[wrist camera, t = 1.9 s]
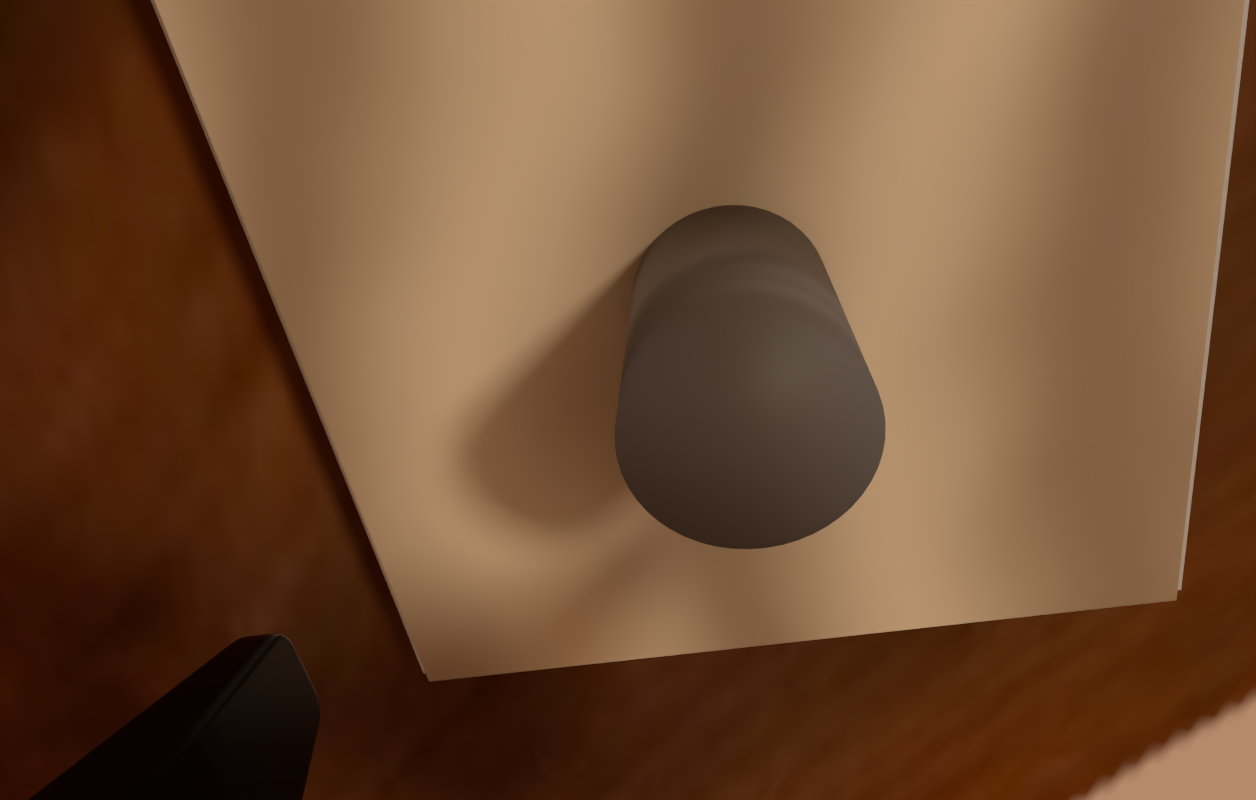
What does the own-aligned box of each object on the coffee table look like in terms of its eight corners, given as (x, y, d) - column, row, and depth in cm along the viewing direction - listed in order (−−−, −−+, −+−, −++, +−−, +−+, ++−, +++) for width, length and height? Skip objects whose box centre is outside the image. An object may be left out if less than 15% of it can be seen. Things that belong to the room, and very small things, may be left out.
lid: (1251, -388, 11) (1684, -628, 6) (1156, 573, 18) (1328, 806, 13) (139, -113, 13) (-169, -136, 8) (438, 654, 20) (362, 881, 15)
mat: (1271, -435, 11) (1301, -453, 11) (1166, 570, 18) (1181, 589, 18) (115, -142, 13) (92, -145, 13) (429, 654, 20) (423, 673, 20)
